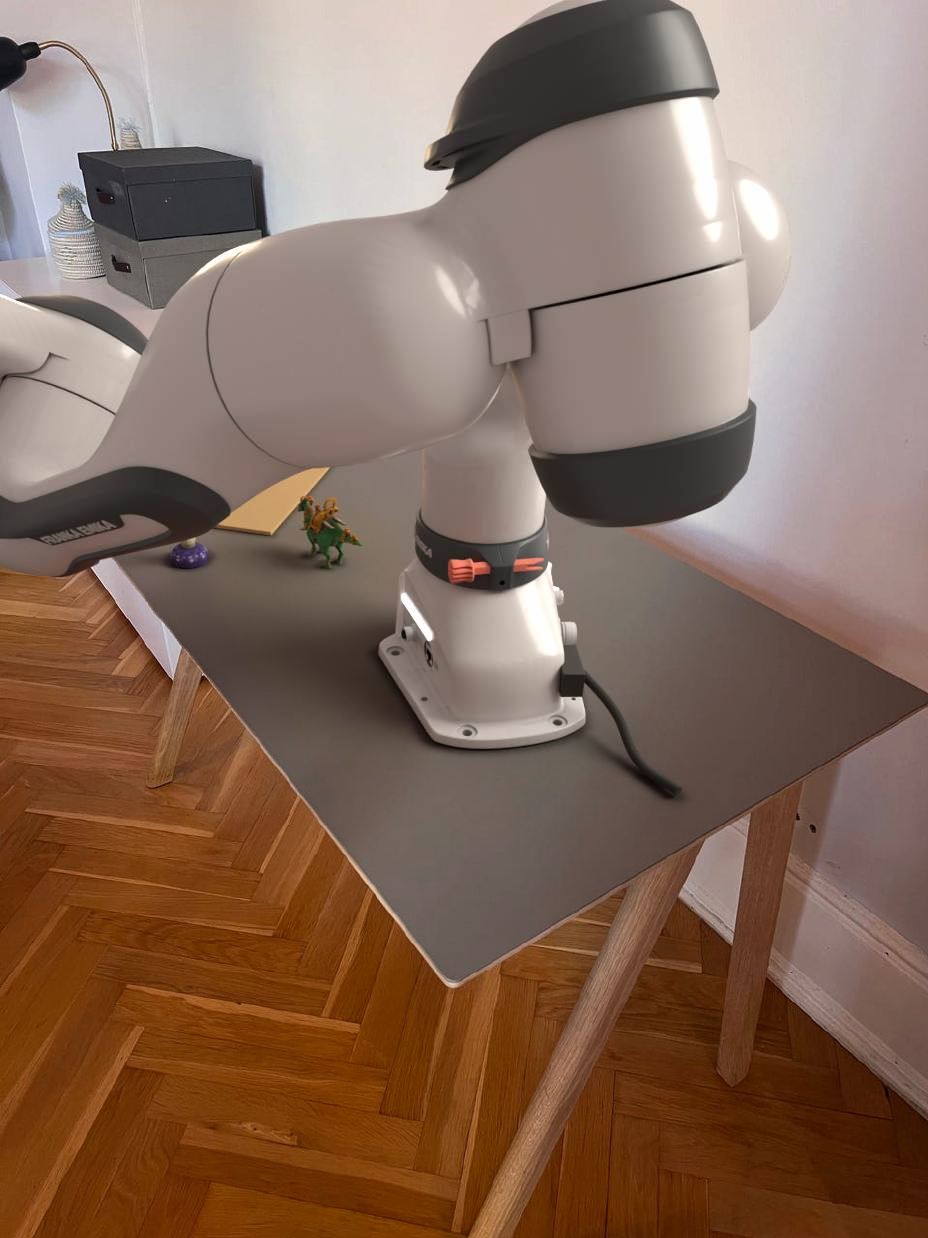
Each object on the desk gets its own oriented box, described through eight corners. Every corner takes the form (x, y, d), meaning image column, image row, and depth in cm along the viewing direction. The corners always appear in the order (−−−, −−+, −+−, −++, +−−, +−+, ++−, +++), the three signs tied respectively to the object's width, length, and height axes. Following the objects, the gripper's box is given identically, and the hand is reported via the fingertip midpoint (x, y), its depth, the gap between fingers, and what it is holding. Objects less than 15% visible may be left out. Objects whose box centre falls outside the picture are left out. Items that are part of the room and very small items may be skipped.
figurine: (312, 539, 107) (308, 475, 102) (374, 580, 100) (373, 512, 95) (289, 547, 105) (285, 481, 101) (351, 588, 98) (349, 520, 93)
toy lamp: (207, 546, 104) (190, 405, 95) (220, 564, 101) (204, 419, 92) (165, 555, 102) (144, 411, 93) (177, 573, 99) (157, 426, 90)
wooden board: (271, 535, 107) (270, 531, 107) (176, 522, 109) (176, 518, 109) (350, 445, 132) (350, 441, 132) (272, 435, 134) (271, 432, 134)
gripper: (-88, 437, 73) (13, 499, 86) (149, 468, 70) (216, 527, 83) (-65, 365, 74) (32, 437, 87) (169, 393, 71) (232, 463, 84)
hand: (123, 481), depth 85 cm, fingers closed
